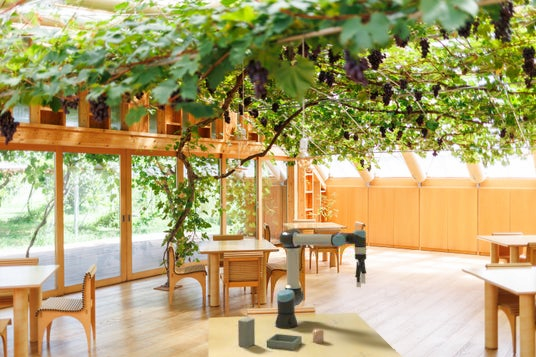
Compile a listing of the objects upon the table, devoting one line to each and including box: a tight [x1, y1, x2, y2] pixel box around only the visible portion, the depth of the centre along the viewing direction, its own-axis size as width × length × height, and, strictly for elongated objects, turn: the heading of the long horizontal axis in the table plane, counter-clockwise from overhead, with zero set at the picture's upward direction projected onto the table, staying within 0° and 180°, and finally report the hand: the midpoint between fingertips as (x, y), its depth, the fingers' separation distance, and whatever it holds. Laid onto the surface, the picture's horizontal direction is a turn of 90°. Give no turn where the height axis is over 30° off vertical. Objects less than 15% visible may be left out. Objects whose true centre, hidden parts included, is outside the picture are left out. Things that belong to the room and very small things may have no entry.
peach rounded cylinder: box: [312, 328, 325, 344], centre depth 306 cm, size 6×6×7 cm
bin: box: [266, 333, 303, 351], centre depth 301 cm, size 17×15×4 cm
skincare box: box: [237, 316, 256, 349], centre depth 302 cm, size 8×7×16 cm
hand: (361, 285), depth 337 cm, fingers open, 13 cm apart
